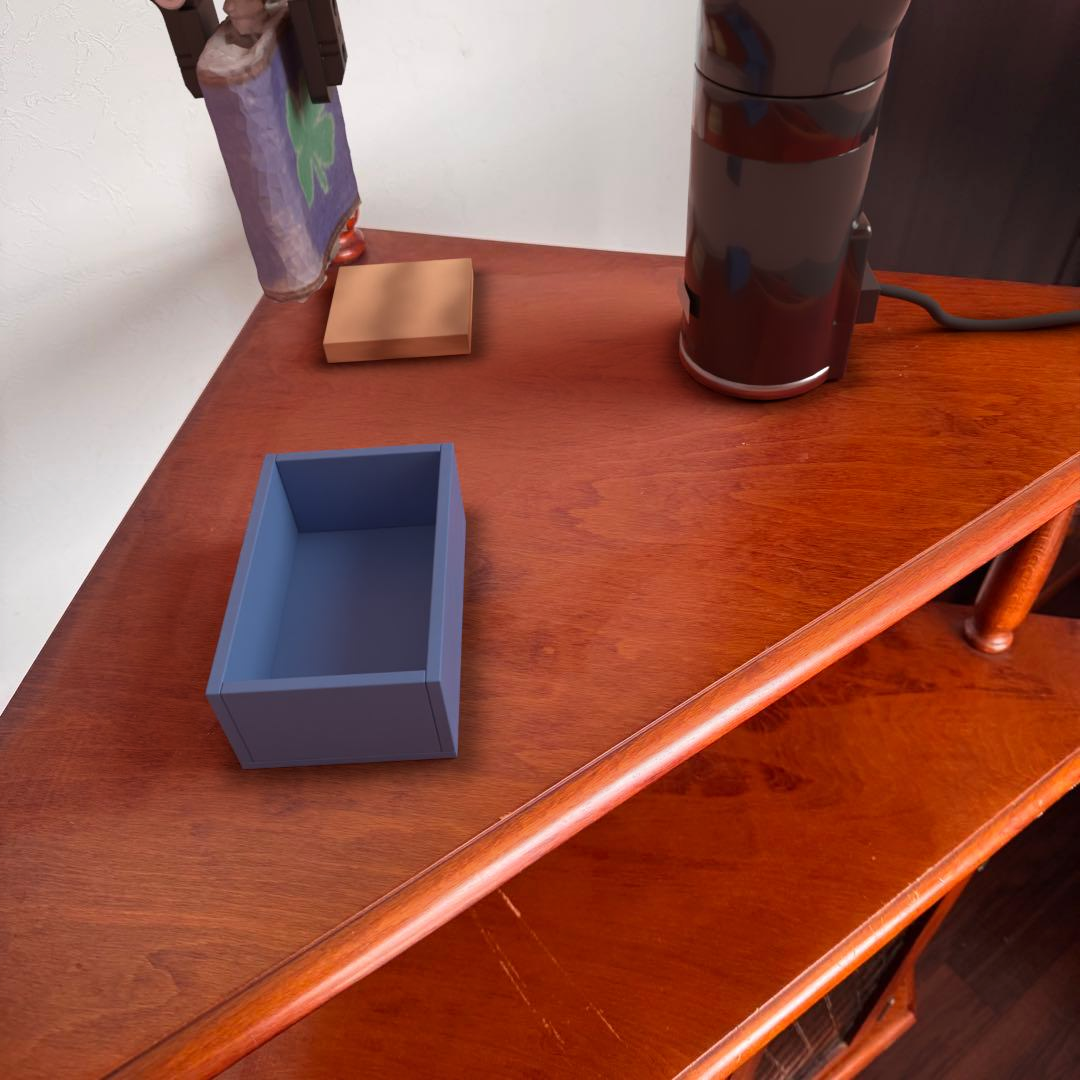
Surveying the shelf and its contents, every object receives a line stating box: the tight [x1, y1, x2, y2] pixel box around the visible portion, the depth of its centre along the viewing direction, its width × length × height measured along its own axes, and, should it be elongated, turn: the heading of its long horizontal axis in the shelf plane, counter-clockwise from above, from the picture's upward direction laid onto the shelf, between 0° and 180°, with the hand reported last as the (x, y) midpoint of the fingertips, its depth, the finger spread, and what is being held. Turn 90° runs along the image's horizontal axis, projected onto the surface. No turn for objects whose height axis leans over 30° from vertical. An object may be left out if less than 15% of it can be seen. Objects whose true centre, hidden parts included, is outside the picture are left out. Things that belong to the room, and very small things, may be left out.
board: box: [322, 257, 474, 364], centre depth 66 cm, size 9×9×2 cm
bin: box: [204, 441, 467, 770], centre depth 46 cm, size 9×14×6 cm, turn 1°
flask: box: [196, 0, 363, 305], centre depth 39 cm, size 9×3×11 cm, turn 173°
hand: (275, 97), depth 38 cm, fingers closed on flask, 3 cm apart
